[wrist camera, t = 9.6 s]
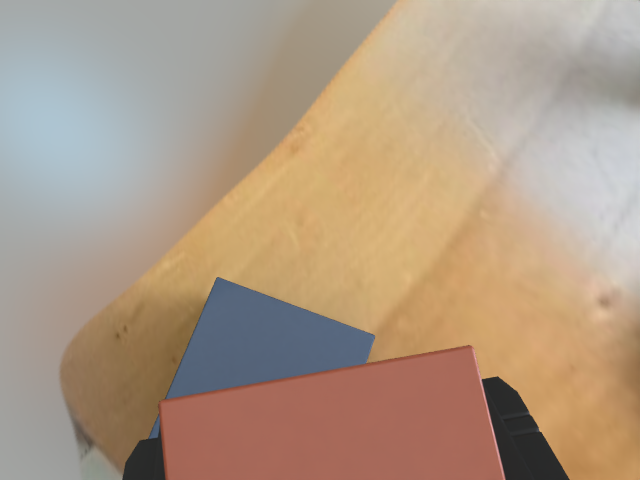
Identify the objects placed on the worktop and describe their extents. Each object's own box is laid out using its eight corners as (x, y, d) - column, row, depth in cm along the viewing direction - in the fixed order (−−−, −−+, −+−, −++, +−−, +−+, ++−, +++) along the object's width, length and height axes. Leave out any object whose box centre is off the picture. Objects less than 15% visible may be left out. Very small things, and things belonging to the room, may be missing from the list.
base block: (314, 493, 35) (315, 510, 29) (172, 436, 35) (145, 443, 30) (365, 346, 37) (375, 335, 31) (231, 296, 38) (216, 276, 32)
